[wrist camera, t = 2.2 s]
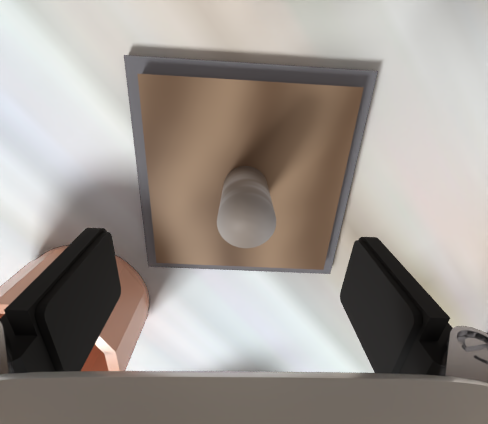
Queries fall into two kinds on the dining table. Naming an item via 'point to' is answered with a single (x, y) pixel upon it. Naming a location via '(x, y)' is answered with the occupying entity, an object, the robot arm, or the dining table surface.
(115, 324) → the terracotta pot
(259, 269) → the charcoal tray
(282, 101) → the walnut lid
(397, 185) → the dining table surface
